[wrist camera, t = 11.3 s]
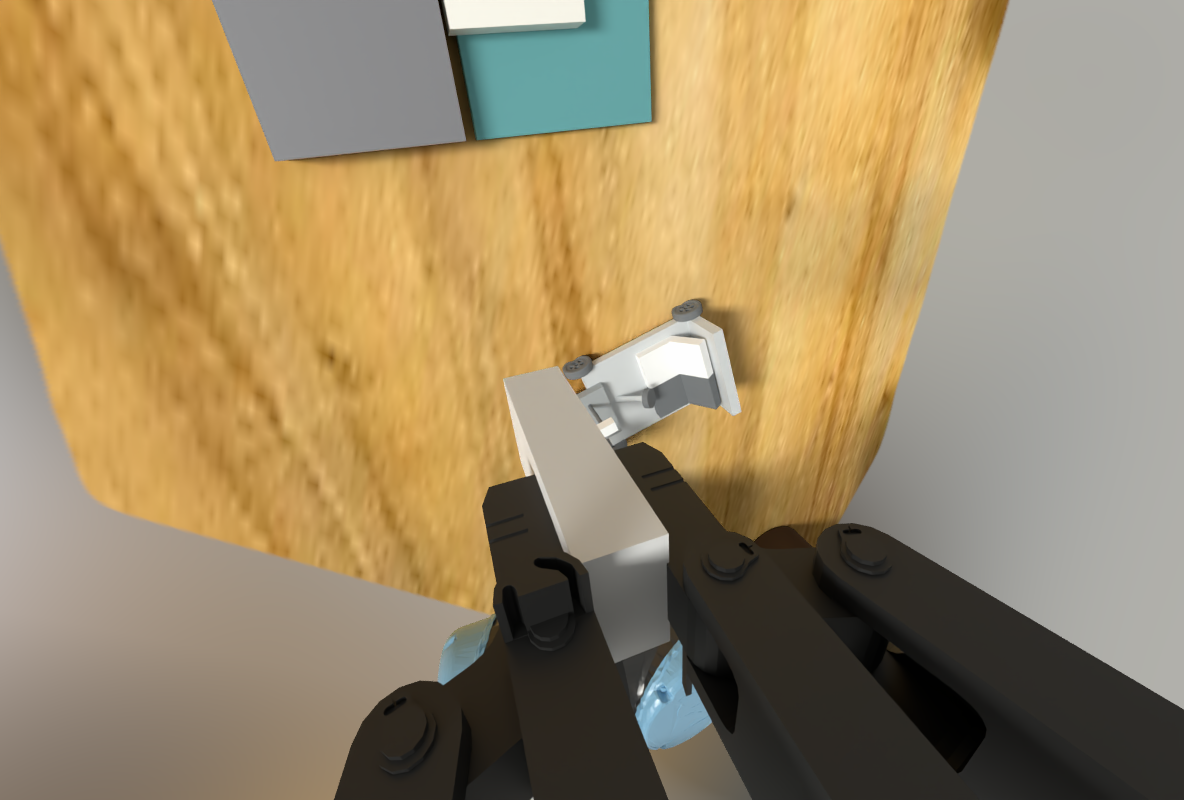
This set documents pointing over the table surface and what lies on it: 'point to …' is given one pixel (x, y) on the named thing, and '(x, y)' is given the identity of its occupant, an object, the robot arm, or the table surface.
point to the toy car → (657, 375)
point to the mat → (561, 74)
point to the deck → (344, 74)
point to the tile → (511, 15)
